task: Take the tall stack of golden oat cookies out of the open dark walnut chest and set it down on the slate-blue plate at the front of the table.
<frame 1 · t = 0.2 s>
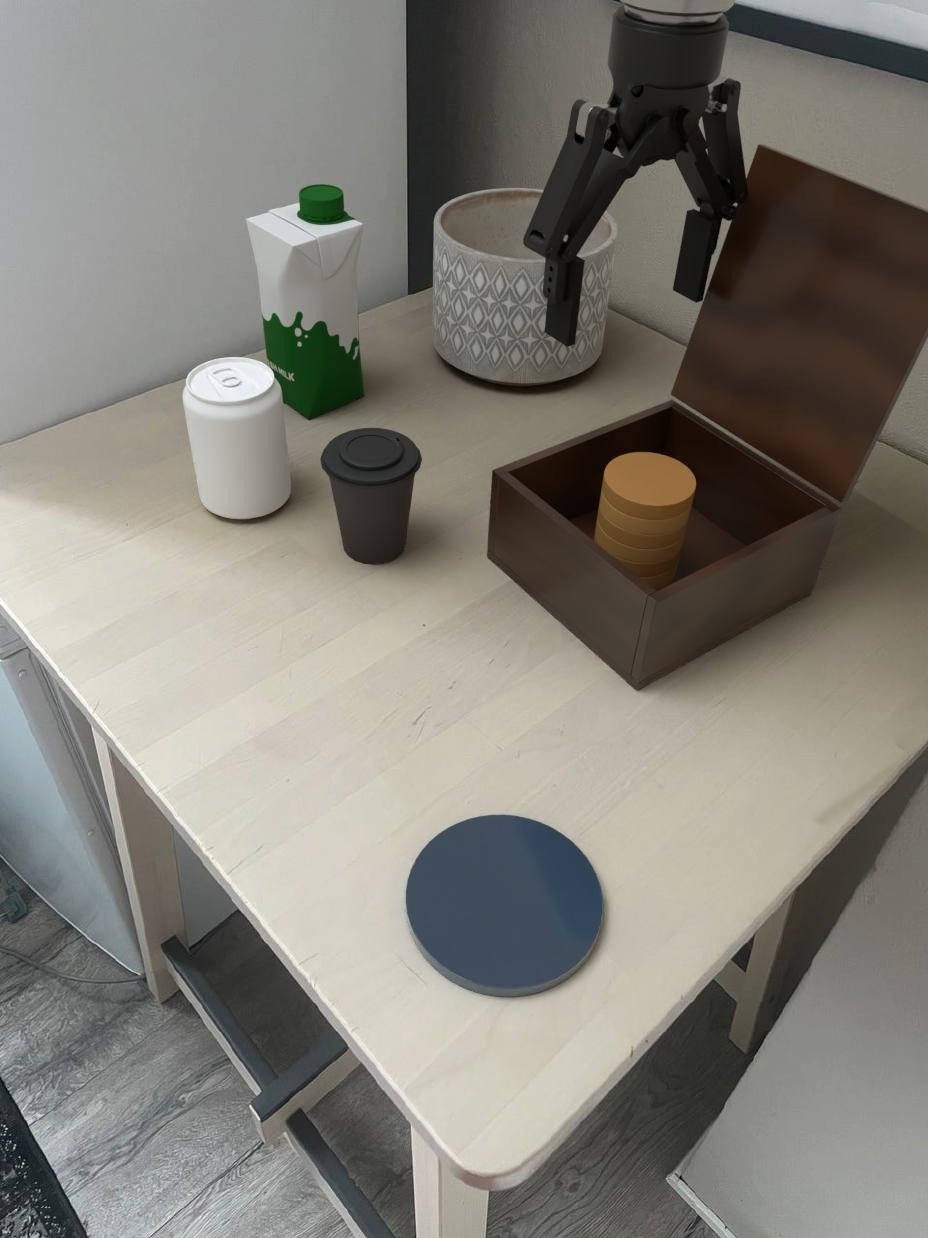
hand: (625, 316, 81), 18 cm above the table, tool pointing down, fingers open, 13 cm apart
planter: (516, 353, 114), on the table
coffee cup: (374, 546, 88), on the table
plate: (503, 904, 63), on the table
beverage can: (246, 498, 92), on the table
cookies: (631, 575, 85), point 1 cm above the table, touching chest
chest: (647, 574, 86), on the table
milk carton: (316, 395, 106), on the table
lid: (819, 323, 80), point 19 cm above the table, hinge at 102.4°
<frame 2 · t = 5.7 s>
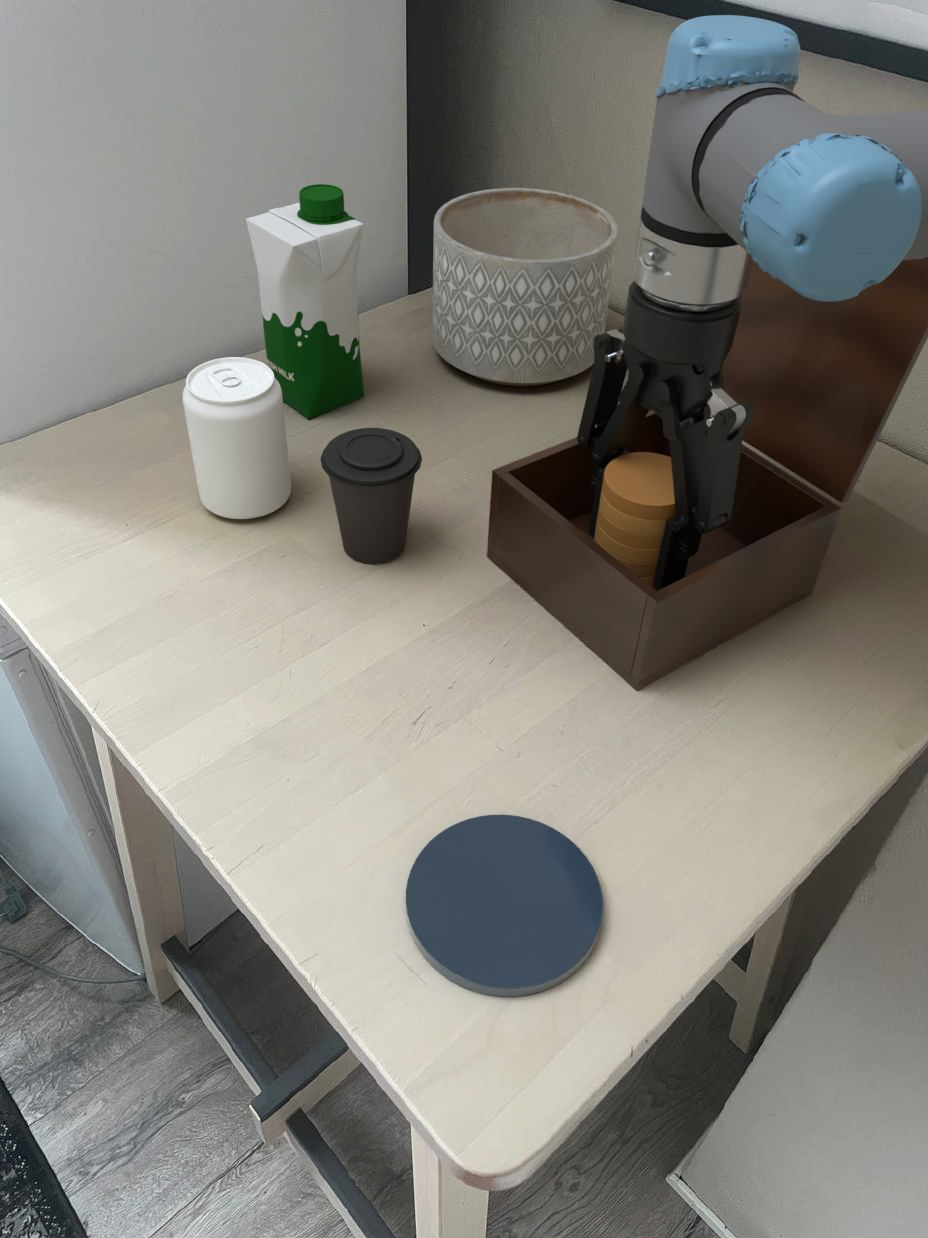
hand: (635, 555, 83), 3 cm above the table, tool pointing down, fingers closed on cookies, 7 cm apart
cookies: (631, 575, 85), point 1 cm above the table, touching chest, gripper
everything else where it was.
when the fingers open (3 cm above the table, at t = 14.3 s): cookies stays where it is, resting on plate.
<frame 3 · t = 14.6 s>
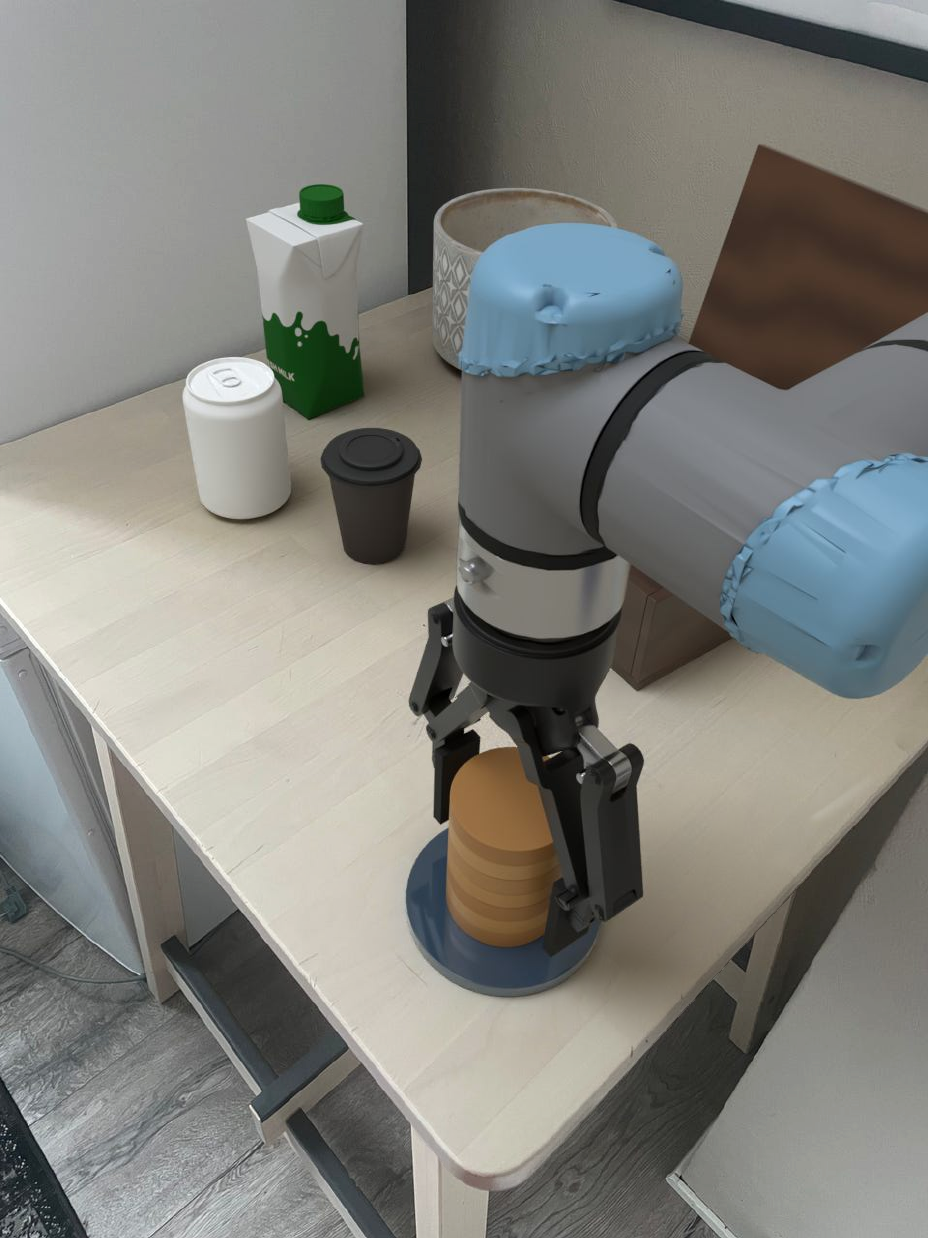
hand: (507, 872, 61), 4 cm above the table, tool pointing down, fingers open, 10 cm apart
cookies: (503, 894, 62), point 1 cm above the table, touching plate
everything else where it was.
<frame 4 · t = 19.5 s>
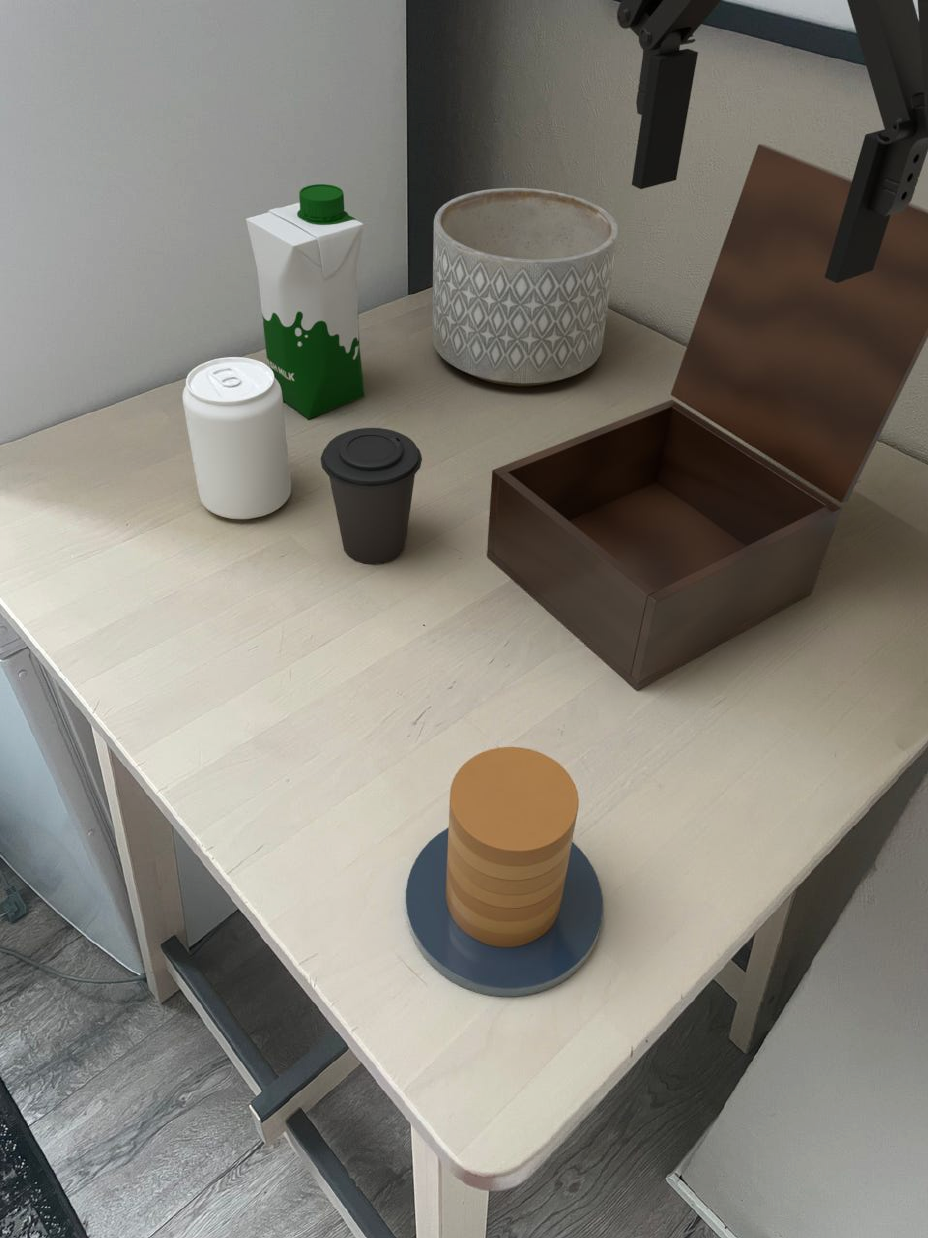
hand: (744, 225, 53), 35 cm above the table, tool pointing down, fingers open, 13 cm apart
nothing on the table moved.
at the end: cookies inside the target area on the plate (0.1 cm from its centre), point 1.0 cm above the plate's base; cookies tilted 0°; the gripper is holding nothing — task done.
